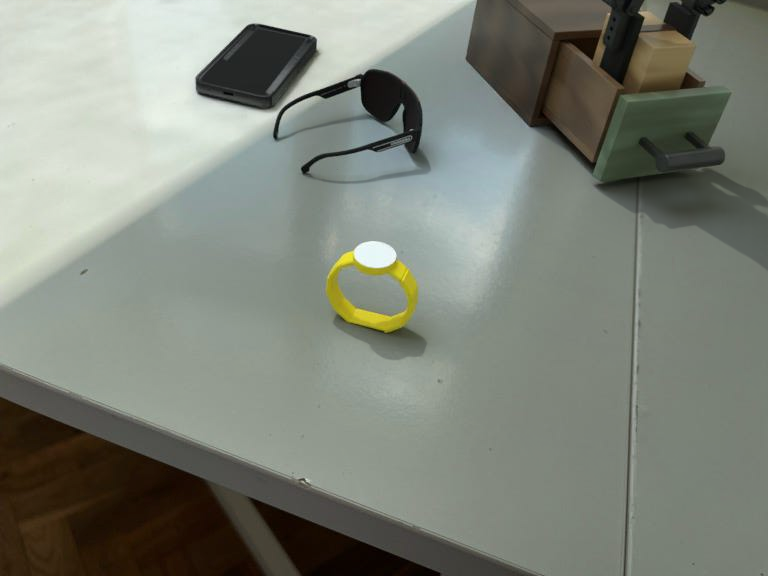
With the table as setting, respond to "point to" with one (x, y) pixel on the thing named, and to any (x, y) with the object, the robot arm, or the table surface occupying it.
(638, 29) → the robot arm
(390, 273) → the watch
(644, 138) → the drawer
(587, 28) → the cabinet
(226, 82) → the phone
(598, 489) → the table surface
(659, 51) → the box
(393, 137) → the sunglasses
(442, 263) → the table surface
